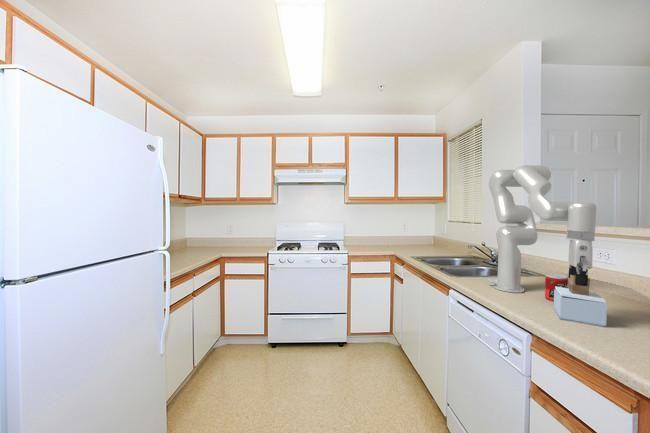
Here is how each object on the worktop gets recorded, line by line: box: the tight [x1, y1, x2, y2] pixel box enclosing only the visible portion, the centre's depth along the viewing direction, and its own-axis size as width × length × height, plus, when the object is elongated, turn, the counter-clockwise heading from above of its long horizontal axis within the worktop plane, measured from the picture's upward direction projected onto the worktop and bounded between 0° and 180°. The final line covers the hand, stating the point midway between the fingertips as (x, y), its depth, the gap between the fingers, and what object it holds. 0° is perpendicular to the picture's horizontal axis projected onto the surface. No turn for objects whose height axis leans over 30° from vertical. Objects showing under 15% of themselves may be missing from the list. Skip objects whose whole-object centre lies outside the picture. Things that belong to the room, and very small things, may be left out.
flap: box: [555, 286, 607, 303], centre depth 100 cm, size 12×11×1 cm
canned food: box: [544, 272, 569, 303], centre depth 120 cm, size 8×8×11 cm
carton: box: [553, 289, 608, 328], centre depth 100 cm, size 12×12×8 cm
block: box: [568, 275, 591, 296], centre depth 100 cm, size 4×4×6 cm
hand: (577, 281), depth 101 cm, fingers open, 9 cm apart
